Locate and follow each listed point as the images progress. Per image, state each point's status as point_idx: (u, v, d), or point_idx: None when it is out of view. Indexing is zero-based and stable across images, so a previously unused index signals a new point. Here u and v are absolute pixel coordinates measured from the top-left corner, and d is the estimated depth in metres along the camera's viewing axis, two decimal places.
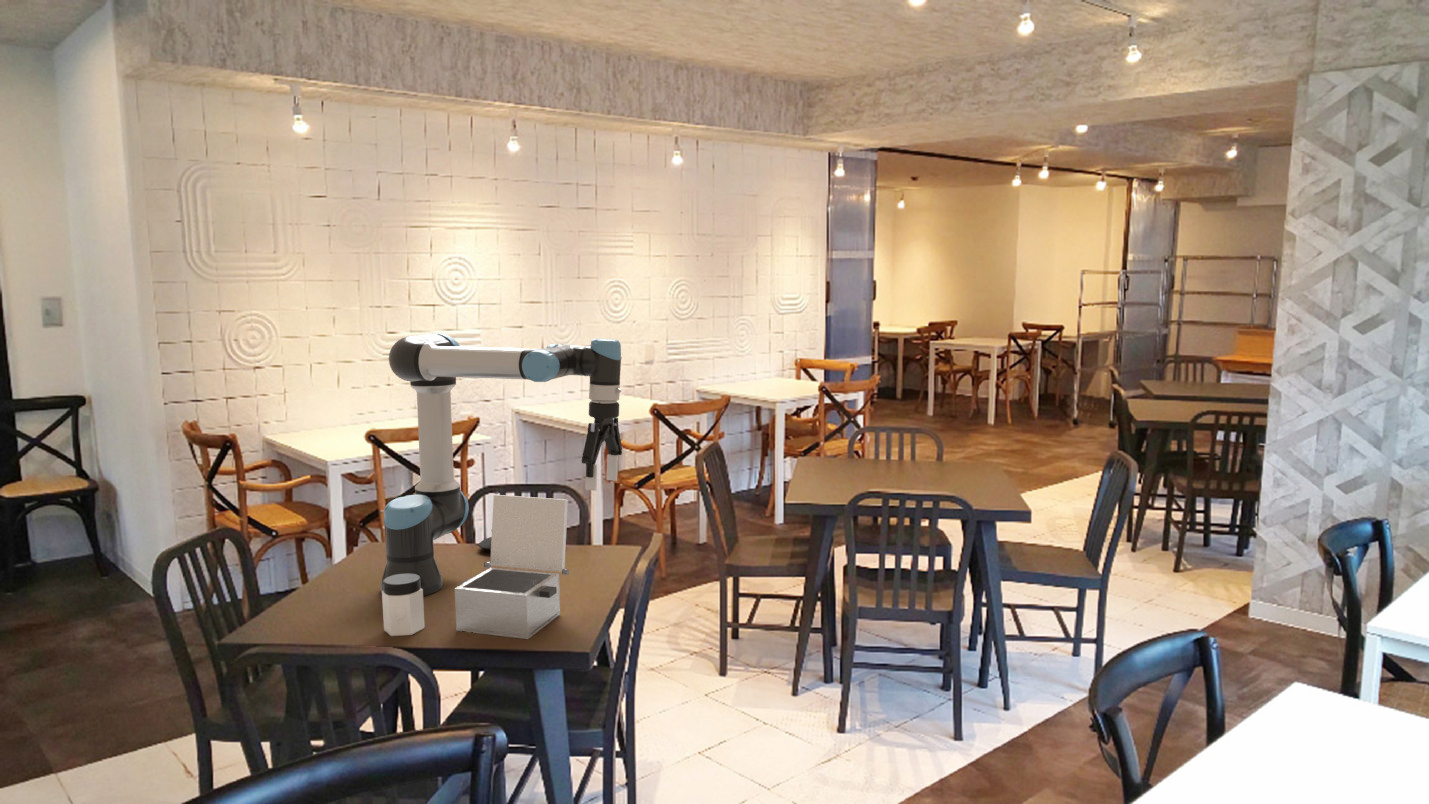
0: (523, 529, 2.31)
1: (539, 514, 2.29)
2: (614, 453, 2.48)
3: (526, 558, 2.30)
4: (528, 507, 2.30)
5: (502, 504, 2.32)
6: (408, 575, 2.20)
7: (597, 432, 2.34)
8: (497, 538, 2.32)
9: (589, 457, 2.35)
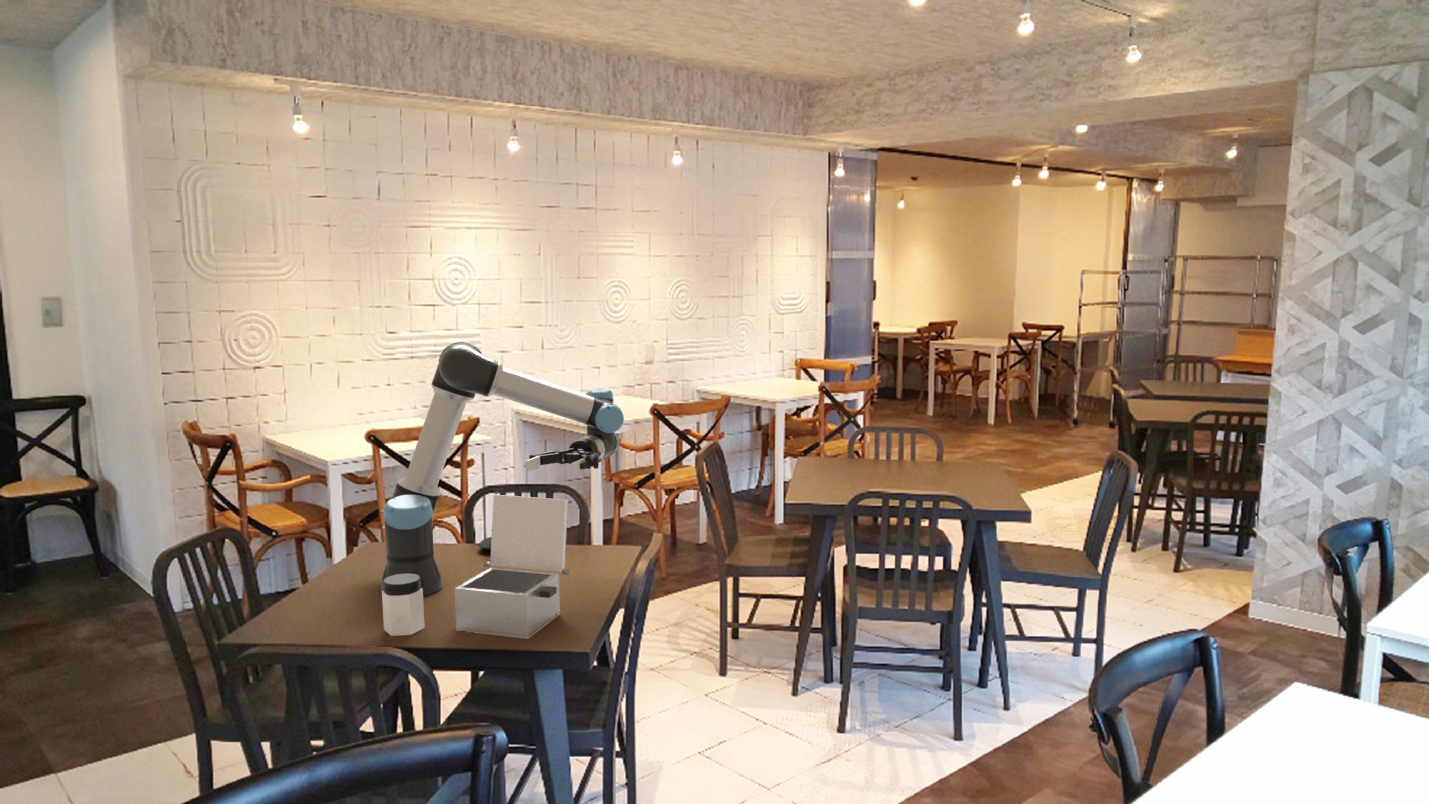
0: (523, 529, 2.31)
1: (539, 514, 2.29)
2: None
3: (526, 558, 2.30)
4: (528, 507, 2.30)
5: (502, 504, 2.32)
6: (408, 575, 2.20)
7: None
8: (497, 538, 2.32)
9: None
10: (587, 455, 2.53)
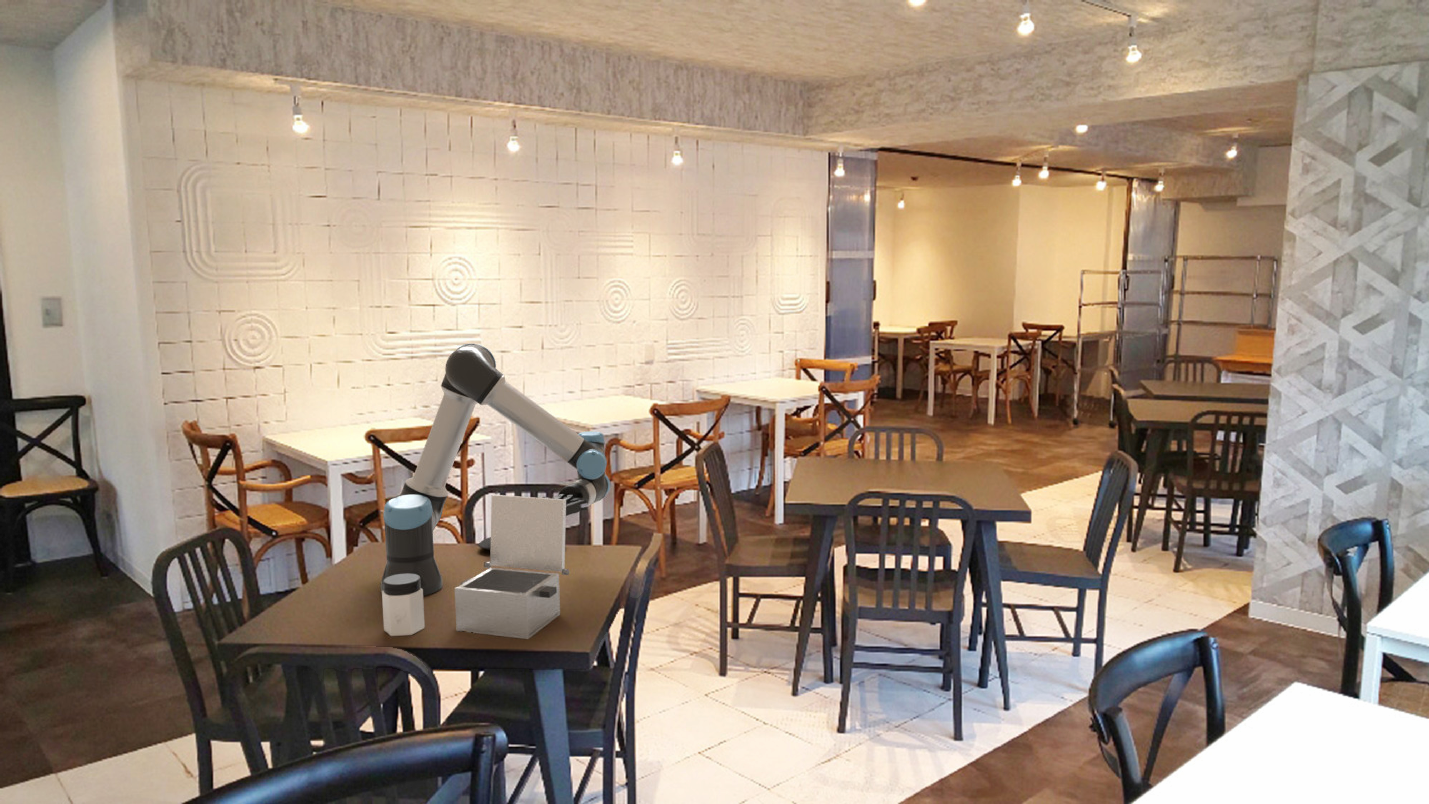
0: (522, 529, 2.30)
1: (538, 515, 2.29)
2: None
3: (526, 558, 2.30)
4: (526, 507, 2.30)
5: (500, 504, 2.32)
6: (408, 575, 2.20)
7: None
8: (496, 538, 2.32)
9: None
10: (575, 501, 2.48)
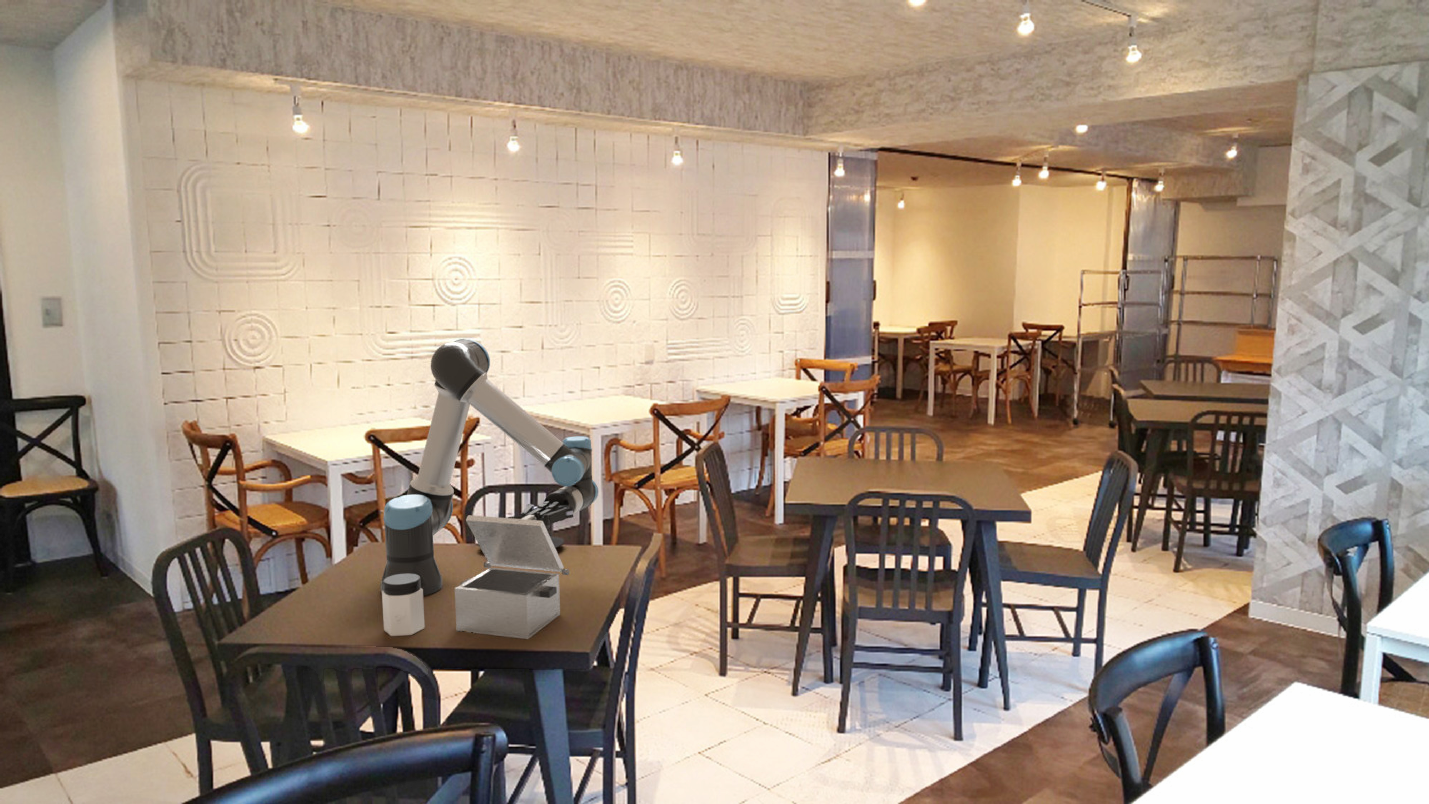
0: (509, 544, 2.24)
1: (520, 534, 2.20)
2: None
3: (522, 562, 2.28)
4: (505, 529, 2.20)
5: (478, 526, 2.22)
6: (408, 575, 2.20)
7: None
8: (486, 548, 2.28)
9: None
10: (560, 509, 2.40)
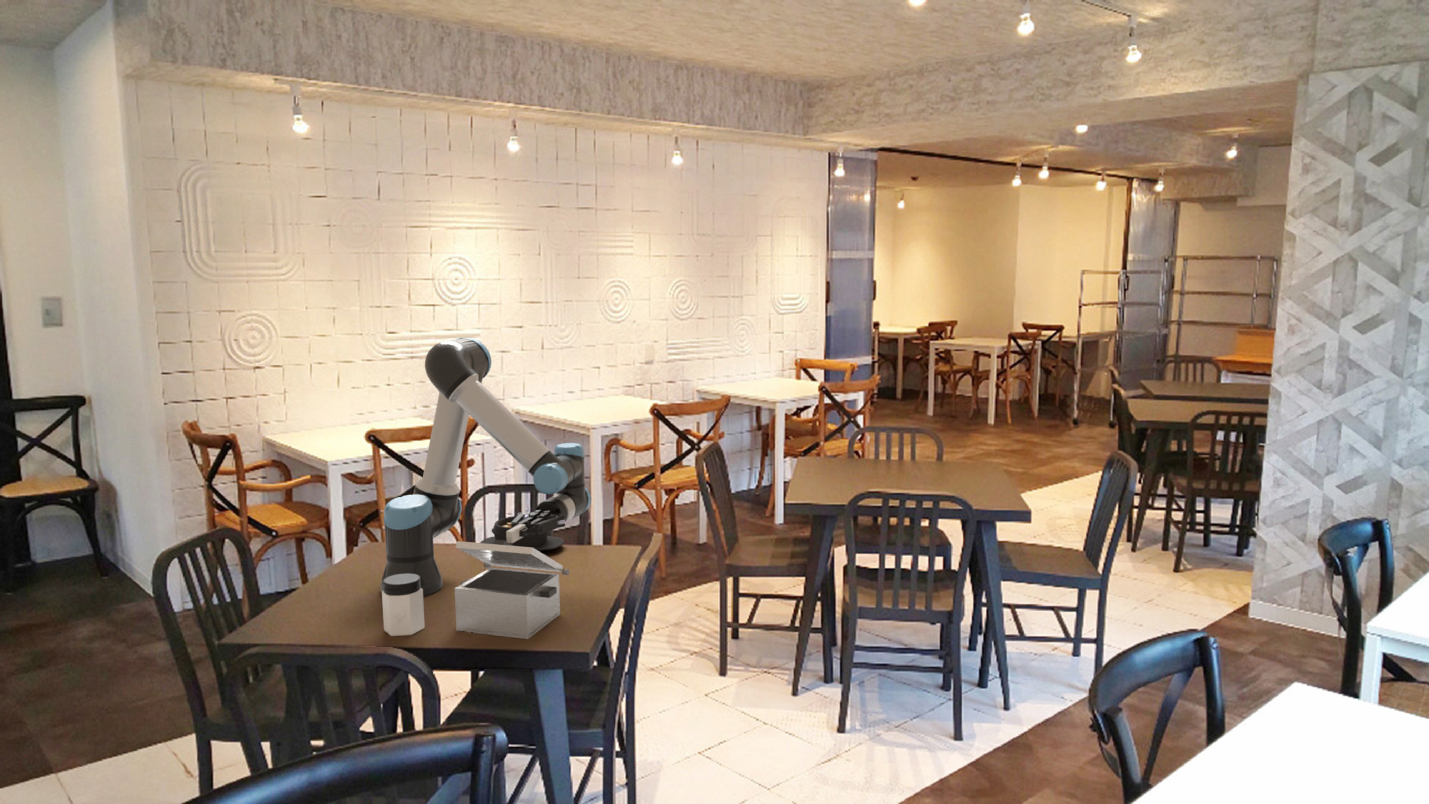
0: (504, 558, 2.22)
1: (512, 556, 2.17)
2: None
3: (521, 566, 2.28)
4: (497, 553, 2.17)
5: (469, 550, 2.19)
6: (408, 575, 2.20)
7: None
8: (483, 559, 2.26)
9: None
10: (552, 518, 2.35)
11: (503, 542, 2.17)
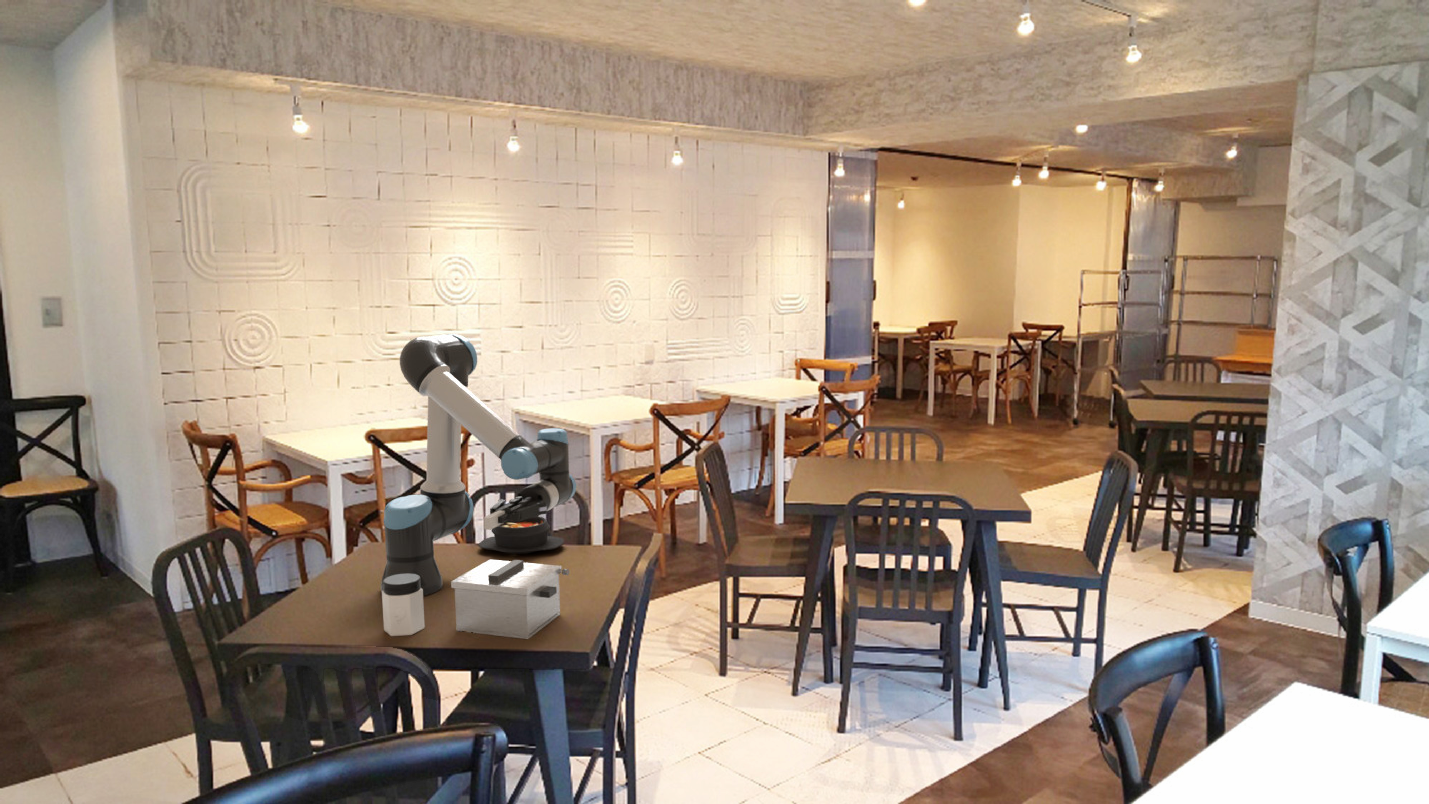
0: None
1: None
2: None
3: None
4: None
5: None
6: (408, 575, 2.20)
7: None
8: None
9: None
10: (533, 504, 2.27)
11: (497, 578, 2.15)
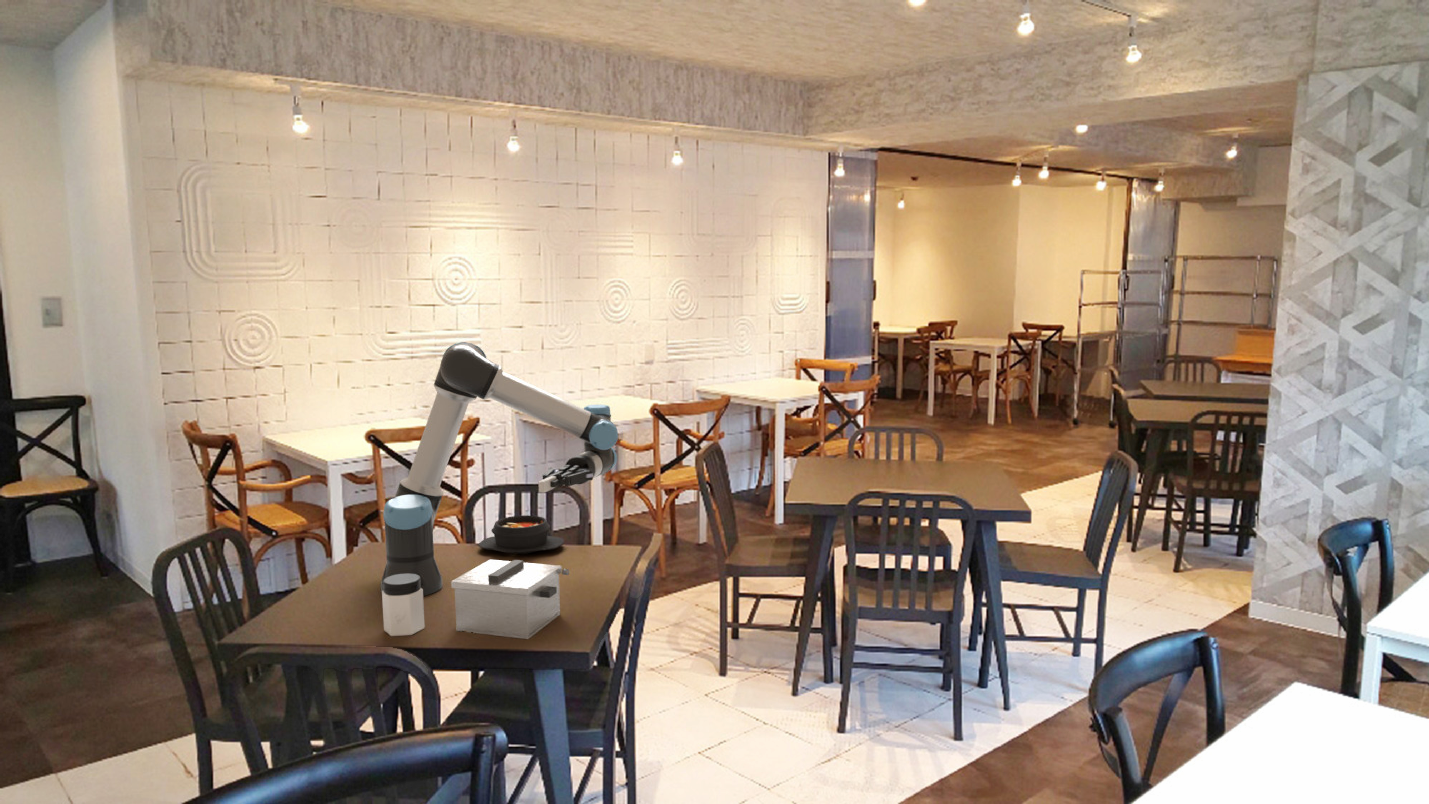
0: None
1: None
2: None
3: None
4: None
5: None
6: (408, 575, 2.20)
7: None
8: None
9: None
10: (581, 472, 2.51)
11: (497, 578, 2.15)
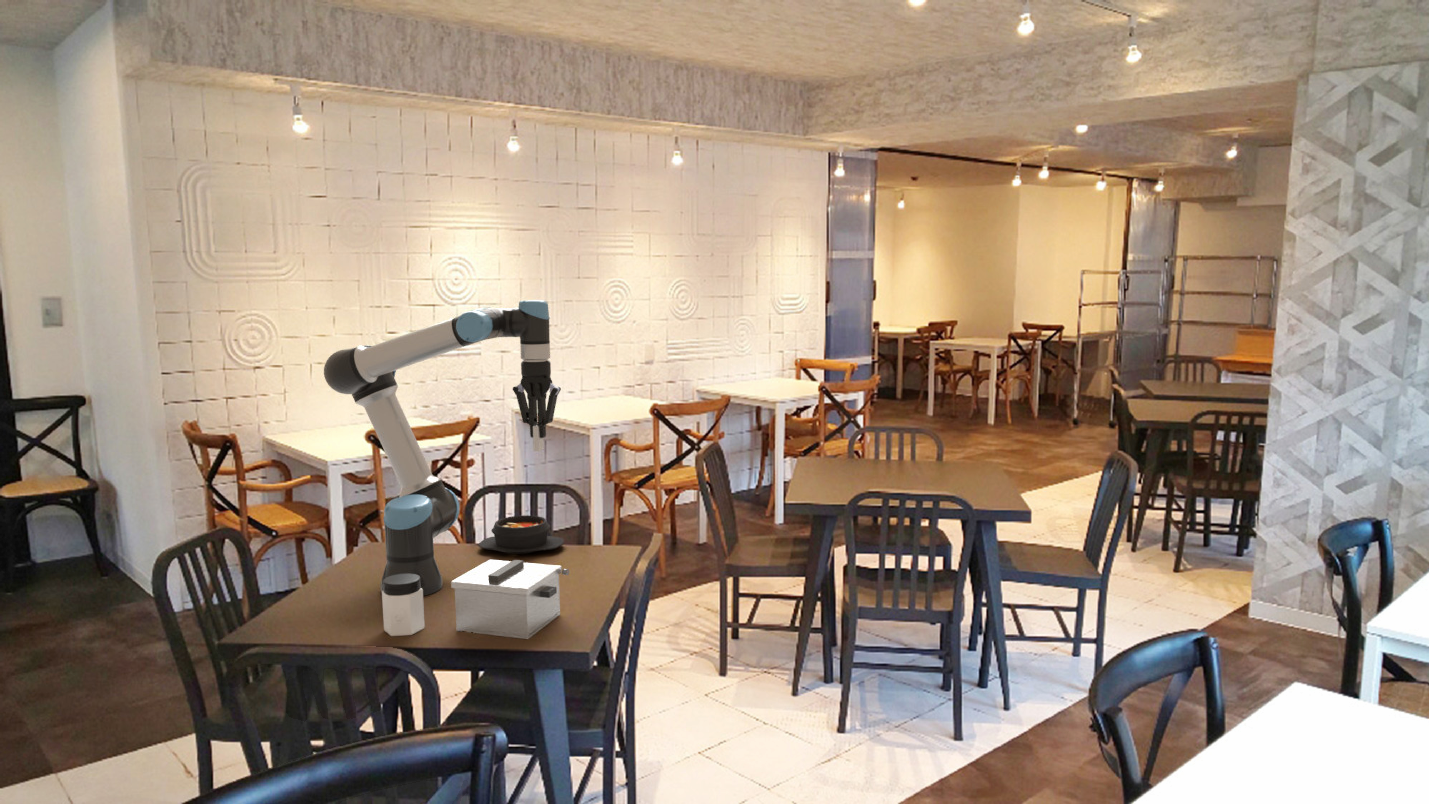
0: None
1: None
2: (535, 421, 2.51)
3: None
4: None
5: None
6: (408, 575, 2.20)
7: None
8: None
9: None
10: None
11: (497, 578, 2.15)
